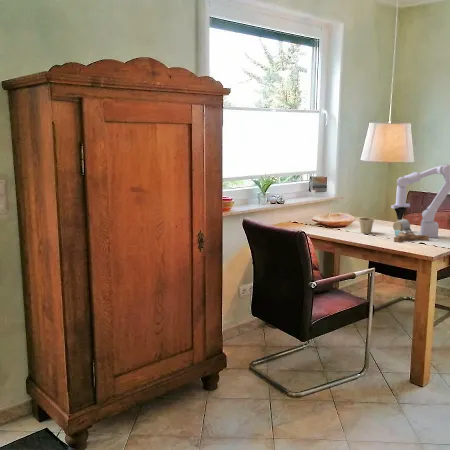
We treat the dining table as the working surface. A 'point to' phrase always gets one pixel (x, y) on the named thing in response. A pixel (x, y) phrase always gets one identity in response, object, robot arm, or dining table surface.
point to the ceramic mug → (402, 225)
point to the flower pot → (366, 224)
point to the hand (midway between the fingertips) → (399, 219)
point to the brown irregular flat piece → (410, 237)
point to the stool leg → (399, 232)
